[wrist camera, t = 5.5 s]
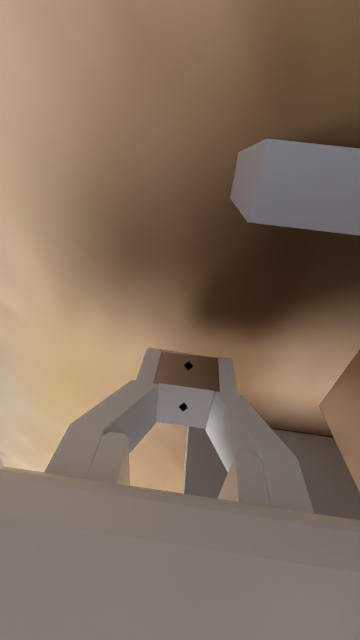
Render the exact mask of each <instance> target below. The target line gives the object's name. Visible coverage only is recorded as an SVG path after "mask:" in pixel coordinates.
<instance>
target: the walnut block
mask: <svg viewBox="0 0 360 640" xmlns="http://www.w3.org/2000/svg"><path fill="white" fill-rule="evenodd" d="M319 407H320V409H321V411H322V414H323V416H324V418H325V420H326V422H327V424H328V426H329V428H330V431H331V433H332V435H333V437H334V439H335V441H336V443H337V446H338V448H339V450H340V452H341V454H342V456H343V458H344V461H345V463H346V465H347V467H348V469H349V471H350V473H351V475H352V478H353V480H354V482H355V484H356V486H357V488H358V490H359V493H360V350H359V351H358V353H357V354H356V356H355V357H354V358H353V360H352V361H351V362H350V364H349V365H348V367H347V368H346V369H345V371H344V372H343V373H342V375H341V376H340V378H339V379H338V380H337V382H336V383H335V384H334V386H333V387H332V389H331V390H330V391H329V393H328V394H327V395H326V397H325V398H324V400H323V401H322V402H321V404H320V405H319Z"/></svg>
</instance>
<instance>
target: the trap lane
mask: <svg viewBox="0 0 360 640" xmlns="http://www.w3.org/2000/svg"><path fill="white" fill-rule="evenodd" d="M230 199H231V200H232V202H233V203H234V205H235V206H236V207H237V209H238V210H239V211H240V213H241V214H242V215H243V217H244V218H245V219H246V221H247V222H249V223H258V224H266V225H275V226H283V227H291V228H300V229H308V230H317V231H325V232H334V233H342V234H350V235H359V236H360V149H359V148H350V147H341V146H332V145H322V144H313V143H304V142H295V141H286V140H276V139H265V140H263V141H261V142H259V143H257V144H254V145H252V146H250V147H248V148H246V149H244V150H242V151H240V152H238V156H237V162H236V167H235V173H234V178H233V184H232V189H231V194H230ZM272 430H273V431H274V432H275V433H276V435H277V436H278V437H279V438H280V439H281V440H282V441H283V443H284V444H285V445H286V446H287V447H288V448H289V449H290V450H291V452H292V453H293V454H294V455H295V456H296V457H297V459H298V462H299V465H300V469H301V472H302V475H303V478H304V482H305V485H306V488H307V491H308V495H309V498H310V501H311V504H312V508H313V511H314V514H320V515H327V516H333V517H340V518H347V519H353V520H360V493H359V490H358V488H357V486H356V484H355V482H354V480H353V478H352V475H351V473H350V471H349V469H348V467H347V465H346V463H345V461H344V458H343V456H342V454H341V452H340V450H339V448H338V446H337V443H336V441H335V439H334V438H332V437H325V436H318V435H311V434H304V433H297V432H290V431H283V430H276V429H272ZM227 474H228V472H227V470H226V468H225V466H224V464H223V463H222V461H221V459H220V457H219V455H218V453H217V451H216V449H215V447H214V446H213V444H212V442H211V440H210V438H209V436H208V434H207V432H206V429H203V428H197V427H191V426H188V428H187V438H186V452H185V465H184V478H183V491H182V493H183V494H189V495H196V496H202V497H209V498H216V499H218V496H219V494H220V491H221V489H222V486H223V484H224V481H225V479H226V476H227Z"/></svg>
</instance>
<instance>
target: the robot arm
mask: <svg viewBox="0 0 360 640" xmlns="http://www.w3.org/2000/svg"><path fill="white" fill-rule="evenodd" d="M156 422H162V423H170V424H179V425H185V426H191V427H197V428H203V429H206V432H207V434H208V436H209V438H210V440H211V442H212V444H213V446H214V447H215V449H216V451H217V453H218V455H219V457H220V459H221V461H222V463H223V464H224V466H225V468H226V470H227V472H228V474H227V476H226V479H225V481H224V484H223V486H222V489H221V491H220V494H219V496H218V499H216V498H209V497H202V496H196V495H189V494H183V493H176V492H169V491H163V490H156V489H150V488H143V487H136V486H130V478H129V453H130V452H131V451H132V450H133V448H134V447H135V446H136V445H137V444H138V443H139V442H140V440H141V439H142V438H143V437H144V436H145V435H146V434H147V433H148V431H149V430H150V429H151V428H152V427H153V426H154V425H155V423H156ZM0 640H360V520H353V519H347V518H340V517H333V516H327V515H320V514H314V511H313V508H312V504H311V501H310V498H309V495H308V491H307V488H306V485H305V482H304V478H303V475H302V472H301V469H300V465H299V462H298V459H297V457H296V456H295V455H294V454H293V453H292V452H291V450H290V449H289V448H288V447H287V446H286V445H285V444H284V443H283V441H282V440H281V439H280V438H279V437H278V436H277V435H276V433H275V432H274V431H273V430H272V429H271V428H270V427H269V426H268V424H267V423H266V422H265V421H264V420H263V419H262V418H261V416H260V415H259V414H258V413H257V412H256V411H255V410H254V409H253V407H252V406H251V405H250V404H249V403H248V402H247V401H246V399H245V398H244V397H243V396H242V395H237V388H236V380H235V373H234V366H233V360H232V359H230V358H221V357H210V356H202V355H194V354H188V353H181V352H175V351H169V350H161V349H155V348H148V349H147V350H146V353H145V356H144V359H143V362H142V365H141V368H140V371H139V374H138V377H137V380H136V381H135V380H131V381H130V382H128V383H127V384H126V385H124V386H123V387H122V388H120V389H119V390H117V391H116V392H115V393H113V394H112V395H110V396H109V397H108V398H106V399H105V400H103V401H102V402H101V403H99V404H98V405H96V406H95V407H94V408H92V409H91V410H89V411H88V412H87V413H85V414H84V415H82V416H81V417H80V418H78V419H77V420H75V421H74V422H73V423H71V424H70V425H69V427H68V429H67V431H66V433H65V435H64V437H63V438H62V440H61V442H60V444H59V446H58V448H57V450H56V451H55V453H54V455H53V457H52V459H51V461H50V463H49V464H48V466H47V468H46V470H45V472H37V471H31V470H24V469H17V468H11V467H4V466H0Z"/></svg>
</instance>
